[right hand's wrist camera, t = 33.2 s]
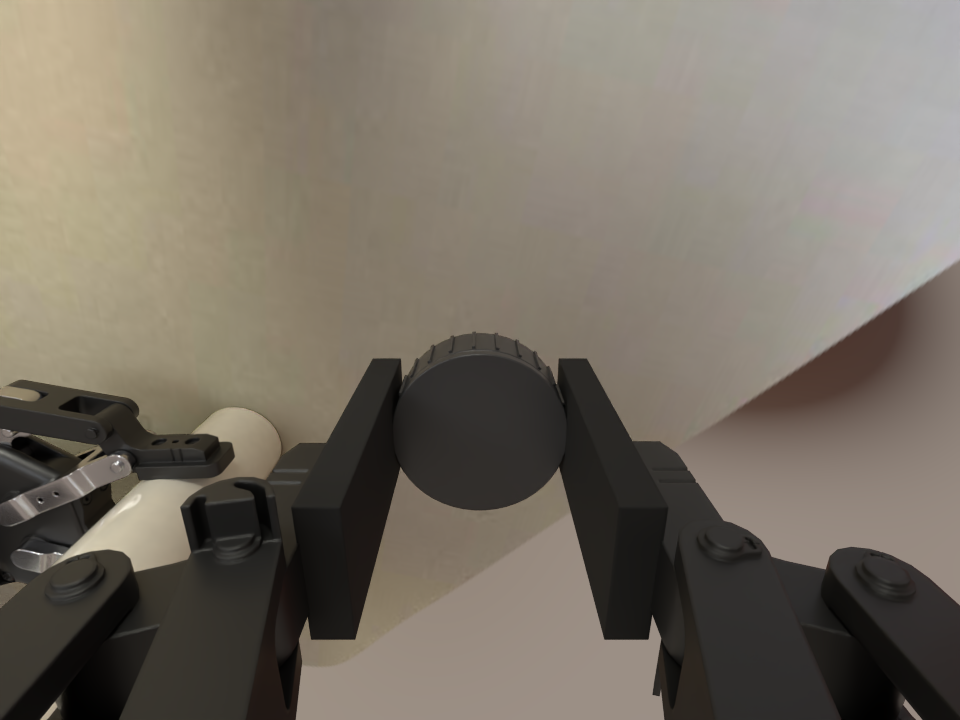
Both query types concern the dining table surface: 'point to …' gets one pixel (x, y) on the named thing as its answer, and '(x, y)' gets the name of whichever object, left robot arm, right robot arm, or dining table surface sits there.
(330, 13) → the dining table surface
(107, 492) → the left robot arm
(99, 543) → the bottle
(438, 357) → the cap
